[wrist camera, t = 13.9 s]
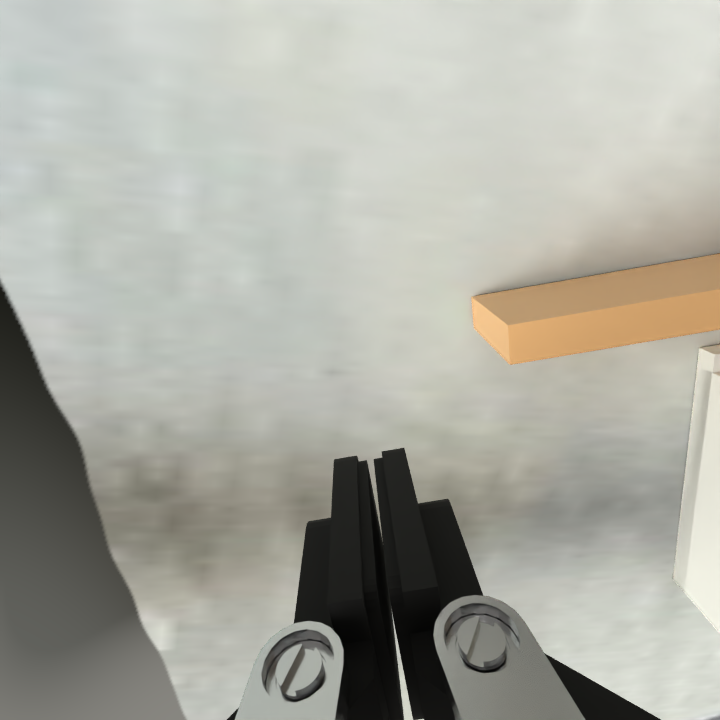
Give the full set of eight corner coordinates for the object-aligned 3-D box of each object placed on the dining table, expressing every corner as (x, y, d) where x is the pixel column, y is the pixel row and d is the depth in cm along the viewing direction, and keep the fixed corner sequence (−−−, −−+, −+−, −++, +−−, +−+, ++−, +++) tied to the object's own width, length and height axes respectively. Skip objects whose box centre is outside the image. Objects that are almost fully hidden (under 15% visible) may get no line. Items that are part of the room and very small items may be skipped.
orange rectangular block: (471, 296, 21) (508, 325, 16) (788, 241, 20) (920, 254, 16) (473, 328, 21) (509, 364, 17) (782, 275, 21) (908, 297, 16)
